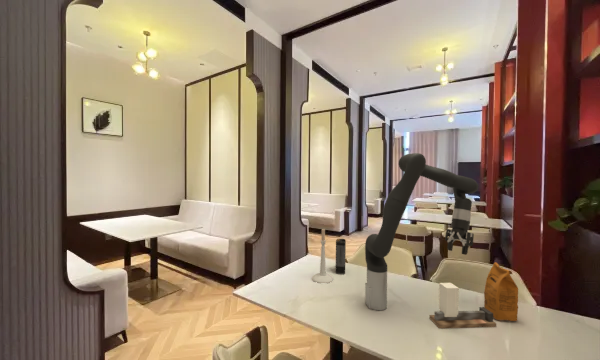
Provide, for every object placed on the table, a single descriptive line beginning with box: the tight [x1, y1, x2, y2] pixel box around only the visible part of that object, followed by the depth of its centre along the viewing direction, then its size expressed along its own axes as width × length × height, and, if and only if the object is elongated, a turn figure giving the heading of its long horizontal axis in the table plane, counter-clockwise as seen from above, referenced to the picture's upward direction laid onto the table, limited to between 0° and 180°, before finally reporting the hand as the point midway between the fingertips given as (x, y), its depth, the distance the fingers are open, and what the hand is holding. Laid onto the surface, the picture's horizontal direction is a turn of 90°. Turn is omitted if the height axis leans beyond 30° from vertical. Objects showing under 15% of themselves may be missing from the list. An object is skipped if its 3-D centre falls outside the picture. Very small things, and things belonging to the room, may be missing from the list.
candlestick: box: [311, 228, 335, 284], centre depth 147 cm, size 13×13×30 cm
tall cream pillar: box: [438, 282, 460, 317], centre depth 104 cm, size 5×5×12 cm
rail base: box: [429, 306, 497, 329], centre depth 105 cm, size 24×7×5 cm, turn 93°
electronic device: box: [335, 238, 347, 275], centre depth 159 cm, size 9×6×20 cm, turn 168°
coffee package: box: [483, 261, 519, 322], centre depth 111 cm, size 10×12×22 cm
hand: (456, 252), depth 121 cm, fingers open, 8 cm apart
